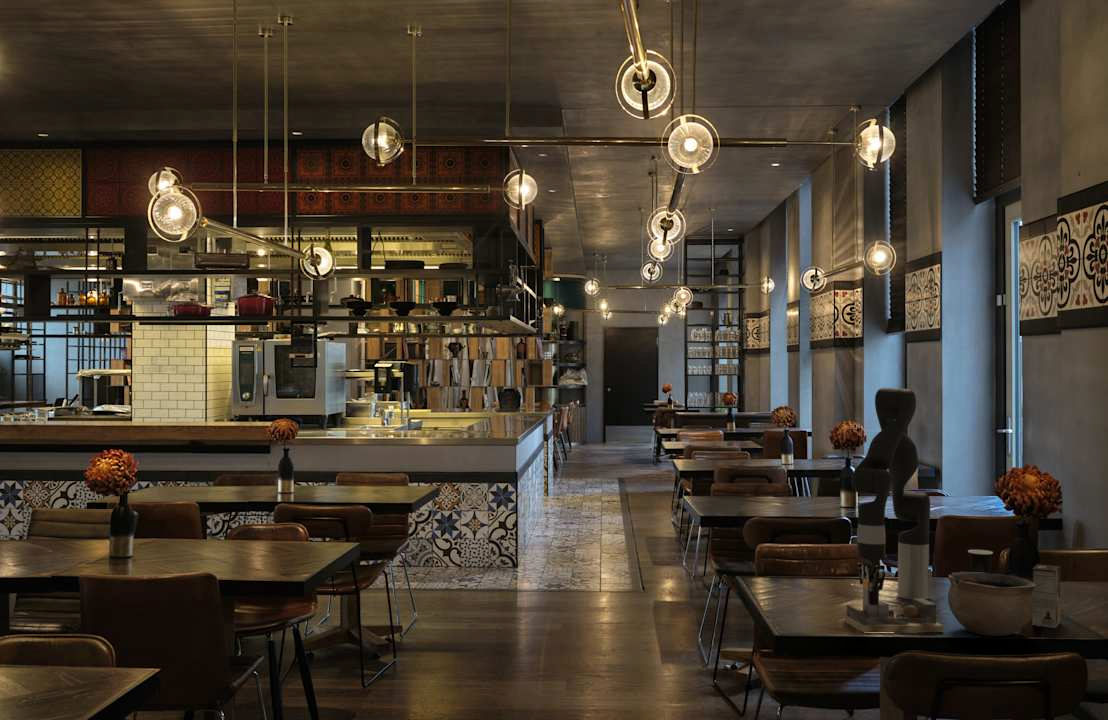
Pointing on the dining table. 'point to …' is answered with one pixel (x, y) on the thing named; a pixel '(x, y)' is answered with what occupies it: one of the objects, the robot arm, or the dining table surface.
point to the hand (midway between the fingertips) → (870, 603)
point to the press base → (897, 620)
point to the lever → (873, 610)
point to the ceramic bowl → (991, 602)
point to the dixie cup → (980, 560)
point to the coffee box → (1046, 595)
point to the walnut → (910, 611)
